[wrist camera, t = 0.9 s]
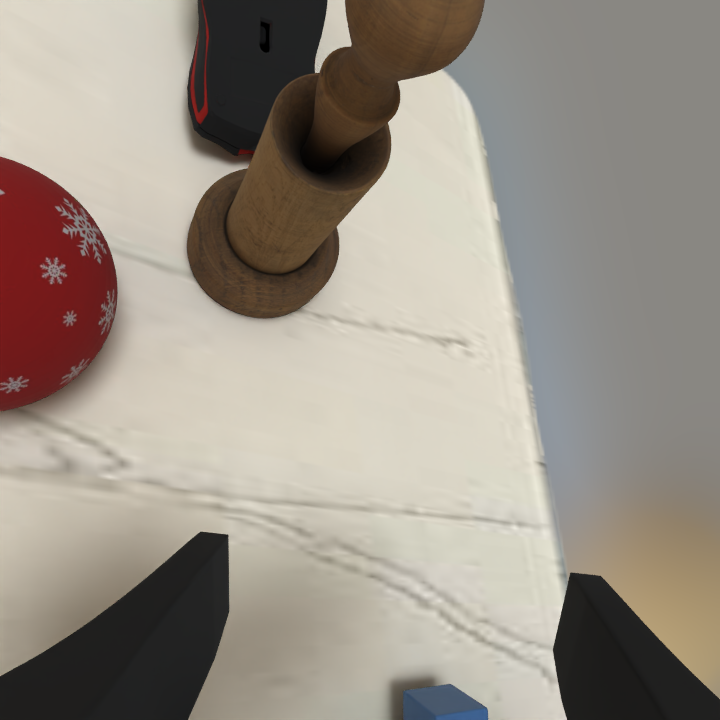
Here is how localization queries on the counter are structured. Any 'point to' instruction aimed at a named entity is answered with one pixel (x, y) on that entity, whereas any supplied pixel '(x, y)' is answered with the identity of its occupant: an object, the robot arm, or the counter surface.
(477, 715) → the ring
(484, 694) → the counter surface
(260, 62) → the computer mouse
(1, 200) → the christmas ornament
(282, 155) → the mortar and pestle
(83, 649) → the robot arm
